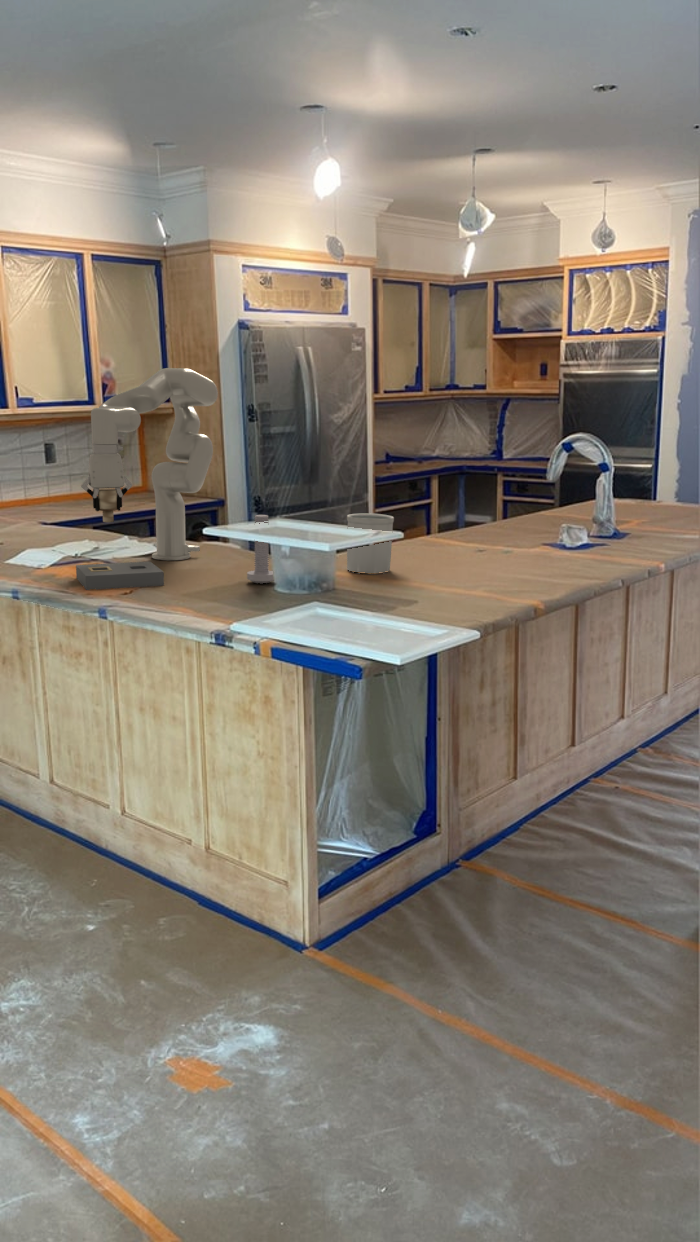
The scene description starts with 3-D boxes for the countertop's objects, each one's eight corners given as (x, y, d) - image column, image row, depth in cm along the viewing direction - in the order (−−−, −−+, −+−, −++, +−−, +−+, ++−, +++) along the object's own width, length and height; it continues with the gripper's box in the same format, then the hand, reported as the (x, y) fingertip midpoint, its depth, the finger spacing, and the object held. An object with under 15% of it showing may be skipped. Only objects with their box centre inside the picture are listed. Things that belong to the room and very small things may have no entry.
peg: (116, 519, 309) (114, 488, 306) (119, 522, 304) (118, 490, 301) (97, 520, 306) (95, 489, 304) (100, 523, 301) (99, 491, 299)
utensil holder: (375, 565, 330) (376, 511, 326) (401, 572, 318) (403, 517, 314) (337, 568, 322) (338, 514, 318) (362, 576, 310) (363, 520, 306)
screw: (281, 583, 297) (282, 516, 292) (258, 586, 291) (258, 518, 287) (264, 579, 303) (264, 512, 298) (241, 582, 297) (241, 514, 293)
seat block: (150, 574, 307) (149, 560, 306) (163, 585, 291) (163, 571, 290) (76, 578, 298) (75, 564, 297) (86, 590, 282) (85, 575, 281)
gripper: (131, 448, 307) (133, 507, 311) (74, 449, 300) (76, 509, 304) (136, 450, 300) (138, 511, 304) (77, 451, 293) (80, 513, 298)
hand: (107, 509), depth 304 cm, fingers closed on peg, 5 cm apart
